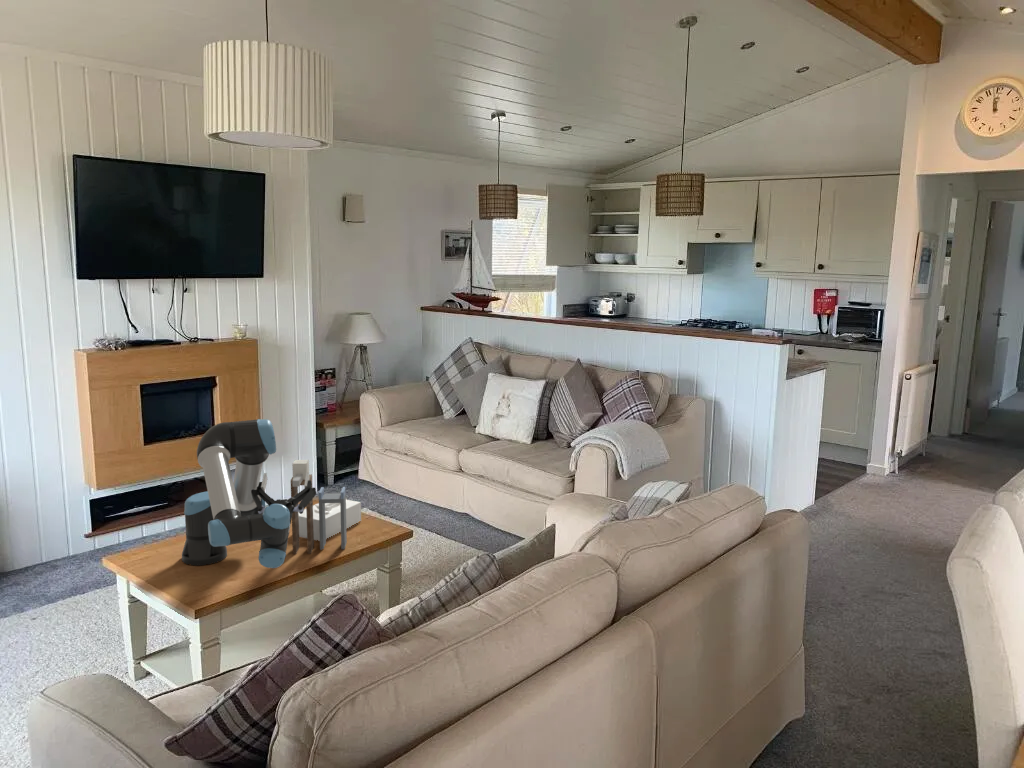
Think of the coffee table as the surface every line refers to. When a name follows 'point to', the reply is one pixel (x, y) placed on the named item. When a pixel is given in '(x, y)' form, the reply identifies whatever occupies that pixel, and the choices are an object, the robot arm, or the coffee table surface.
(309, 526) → the tall stand
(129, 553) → the coffee table surface
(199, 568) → the coffee table surface
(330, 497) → the short stand
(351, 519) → the tissue box
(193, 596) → the coffee table surface
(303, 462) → the plug
